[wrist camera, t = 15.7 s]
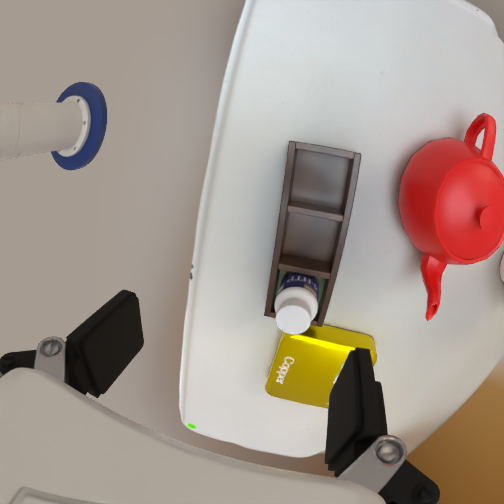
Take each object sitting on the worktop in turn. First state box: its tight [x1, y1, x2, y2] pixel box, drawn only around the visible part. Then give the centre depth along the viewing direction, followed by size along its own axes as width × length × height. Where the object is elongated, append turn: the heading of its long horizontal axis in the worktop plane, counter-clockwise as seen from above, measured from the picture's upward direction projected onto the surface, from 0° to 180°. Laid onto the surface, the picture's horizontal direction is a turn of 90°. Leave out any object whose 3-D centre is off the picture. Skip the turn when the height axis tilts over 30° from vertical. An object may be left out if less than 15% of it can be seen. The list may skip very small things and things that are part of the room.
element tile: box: [265, 325, 377, 409], centre depth 40 cm, size 15×15×5 cm
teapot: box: [398, 113, 504, 321], centre depth 24 cm, size 25×16×12 cm, turn 167°
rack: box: [264, 141, 361, 327], centre depth 34 cm, size 8×23×4 cm, turn 174°
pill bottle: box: [274, 271, 319, 334], centre depth 34 cm, size 5×5×9 cm
